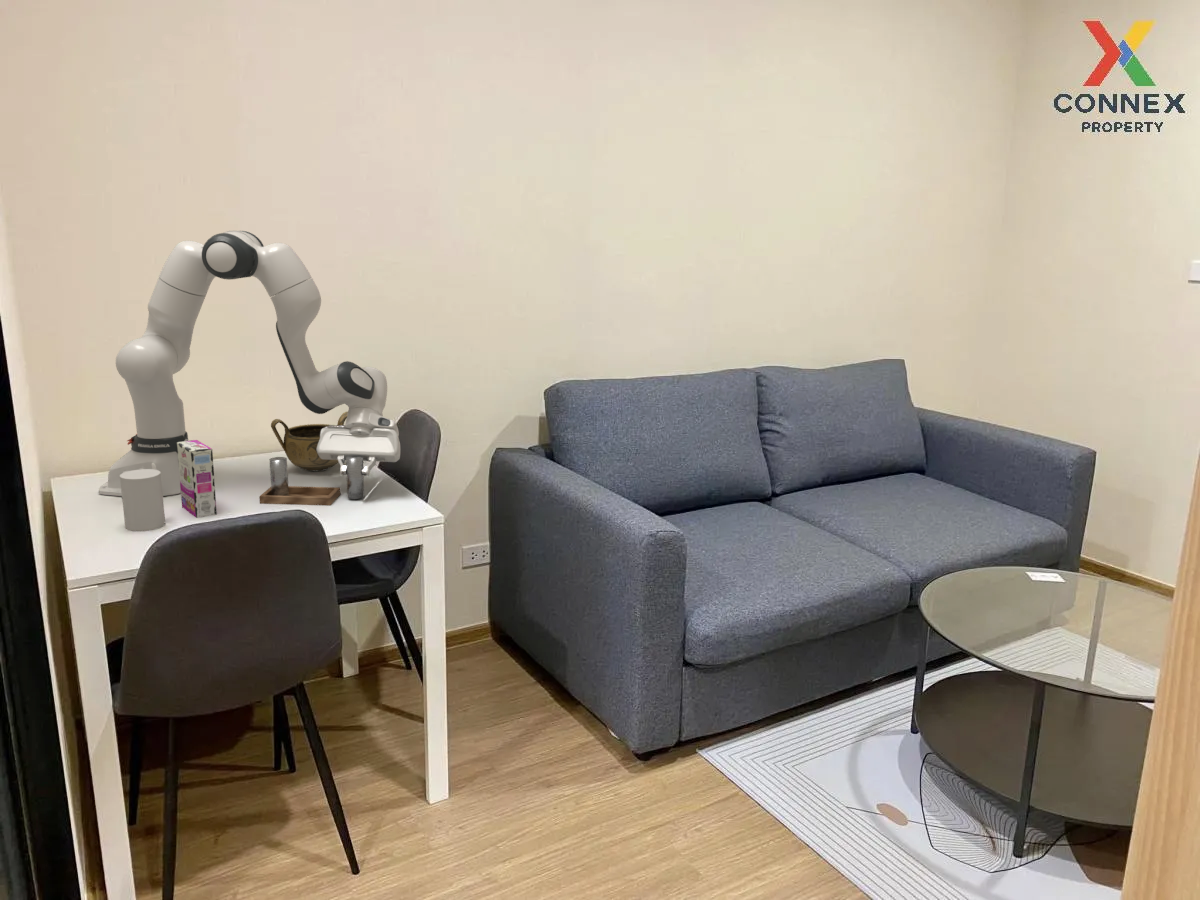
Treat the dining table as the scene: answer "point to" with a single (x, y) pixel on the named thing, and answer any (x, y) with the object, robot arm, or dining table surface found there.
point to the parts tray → (303, 496)
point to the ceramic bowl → (305, 444)
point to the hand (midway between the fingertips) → (354, 474)
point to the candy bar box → (197, 478)
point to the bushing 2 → (355, 477)
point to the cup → (142, 499)
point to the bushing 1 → (279, 476)
